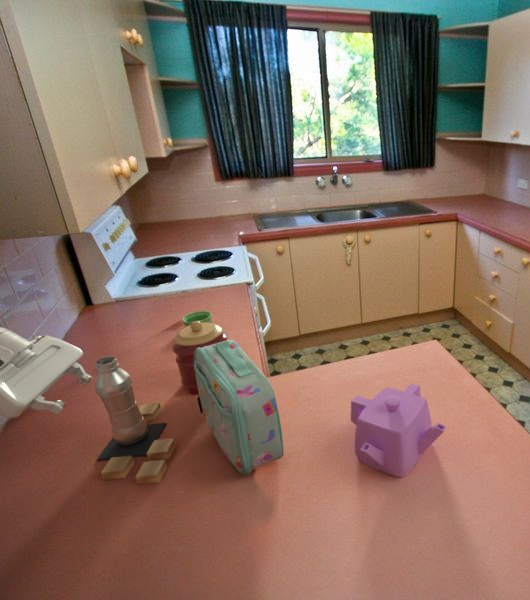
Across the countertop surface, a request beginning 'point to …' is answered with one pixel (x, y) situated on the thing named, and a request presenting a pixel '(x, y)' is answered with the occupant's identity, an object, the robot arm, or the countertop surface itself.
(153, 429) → the mat
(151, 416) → the back tile
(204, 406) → the lunch box
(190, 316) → the ramekin
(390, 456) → the teakettle
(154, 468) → the front tile
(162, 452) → the tile
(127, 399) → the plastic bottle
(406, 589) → the countertop surface
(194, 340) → the kitchen canister
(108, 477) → the tile
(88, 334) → the countertop surface
